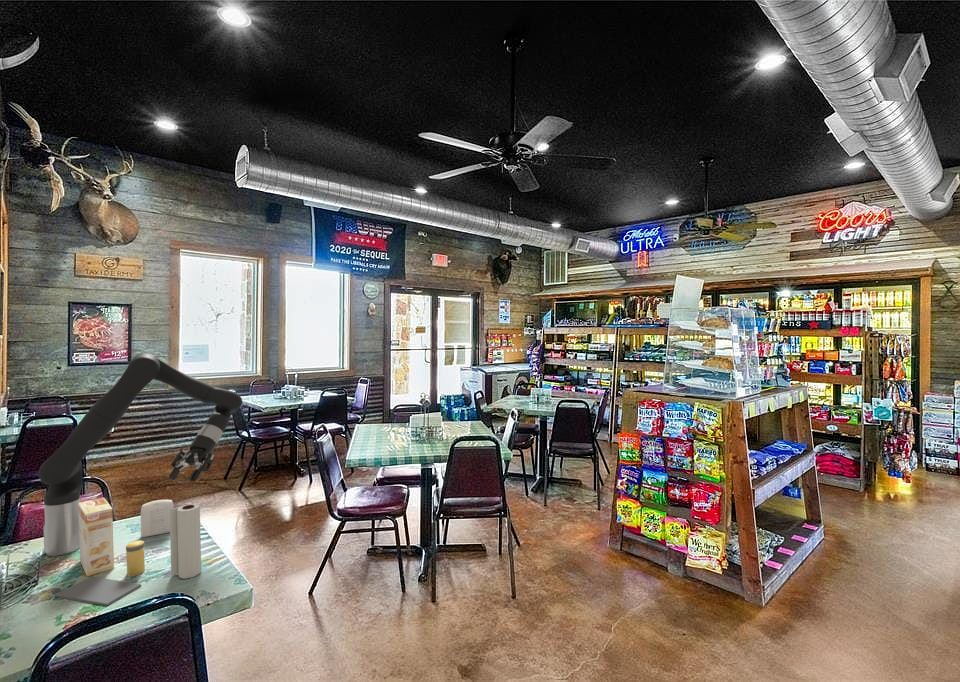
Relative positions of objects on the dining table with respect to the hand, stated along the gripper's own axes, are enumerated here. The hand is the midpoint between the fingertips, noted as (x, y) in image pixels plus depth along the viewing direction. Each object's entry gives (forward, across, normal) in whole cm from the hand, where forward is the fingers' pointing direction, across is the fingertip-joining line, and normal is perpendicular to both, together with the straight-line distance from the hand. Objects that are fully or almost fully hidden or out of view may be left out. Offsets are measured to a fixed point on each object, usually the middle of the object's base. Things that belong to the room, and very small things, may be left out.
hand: (181, 480), depth 163 cm
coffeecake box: (+29, -17, +5) cm, 34 cm away
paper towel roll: (+27, +17, +6) cm, 33 cm away
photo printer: (+12, -18, +21) cm, 30 cm away
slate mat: (+37, 0, -4) cm, 37 cm away
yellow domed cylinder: (+29, 0, +4) cm, 29 cm away
